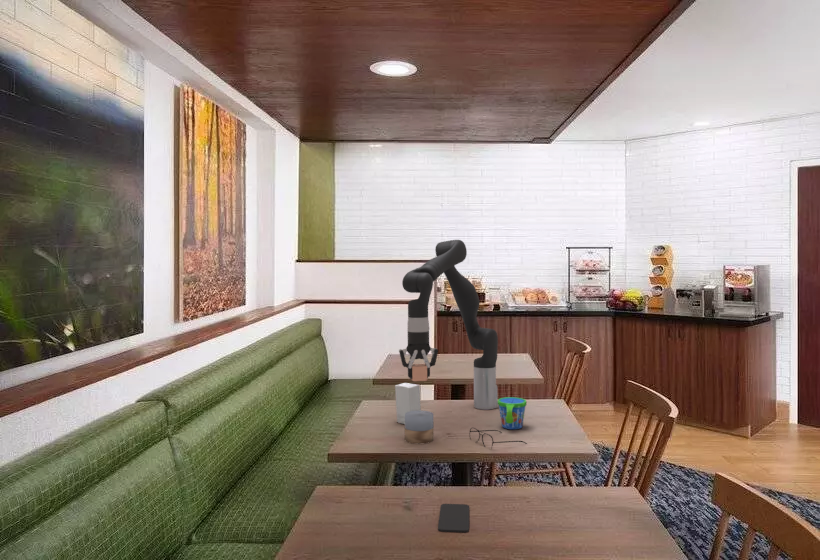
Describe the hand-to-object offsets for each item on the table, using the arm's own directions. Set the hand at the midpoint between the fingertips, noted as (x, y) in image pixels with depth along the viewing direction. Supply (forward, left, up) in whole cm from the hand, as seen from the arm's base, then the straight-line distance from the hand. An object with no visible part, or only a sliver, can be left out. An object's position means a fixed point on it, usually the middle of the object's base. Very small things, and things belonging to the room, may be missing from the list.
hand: (418, 378), depth 210 cm
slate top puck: (0, +1, -17) cm, 17 cm away
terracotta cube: (0, 0, 0) cm, 0 cm away
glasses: (-26, +8, -22) cm, 35 cm away
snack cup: (-36, -7, -22) cm, 43 cm away
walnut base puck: (0, +1, -22) cm, 22 cm away
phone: (+2, +64, -22) cm, 68 cm away
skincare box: (+1, -20, -22) cm, 29 cm away
